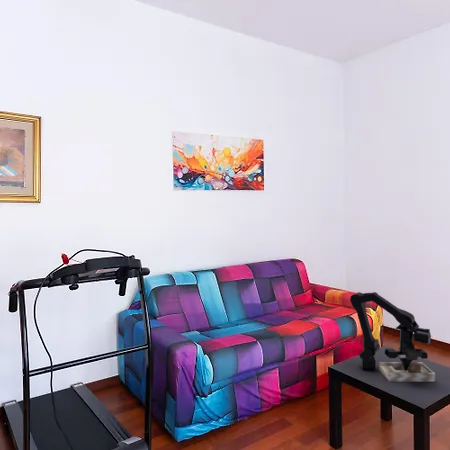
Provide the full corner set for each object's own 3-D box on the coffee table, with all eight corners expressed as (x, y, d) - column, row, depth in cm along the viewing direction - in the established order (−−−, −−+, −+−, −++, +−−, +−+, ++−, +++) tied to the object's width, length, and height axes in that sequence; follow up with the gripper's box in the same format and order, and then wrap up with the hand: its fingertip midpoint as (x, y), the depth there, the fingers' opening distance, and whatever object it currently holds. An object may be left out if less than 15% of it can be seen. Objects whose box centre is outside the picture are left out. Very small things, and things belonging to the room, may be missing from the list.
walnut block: (411, 374, 193) (411, 365, 193) (407, 370, 198) (407, 362, 197) (420, 374, 193) (420, 365, 193) (416, 370, 198) (416, 362, 197)
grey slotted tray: (388, 381, 192) (389, 373, 192) (378, 369, 205) (378, 362, 205) (434, 381, 192) (435, 373, 191) (421, 370, 205) (422, 362, 204)
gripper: (393, 345, 187) (392, 377, 187) (434, 345, 186) (432, 378, 187) (384, 336, 198) (383, 367, 199) (422, 337, 197) (421, 368, 198)
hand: (405, 370), depth 195 cm, fingers closed
